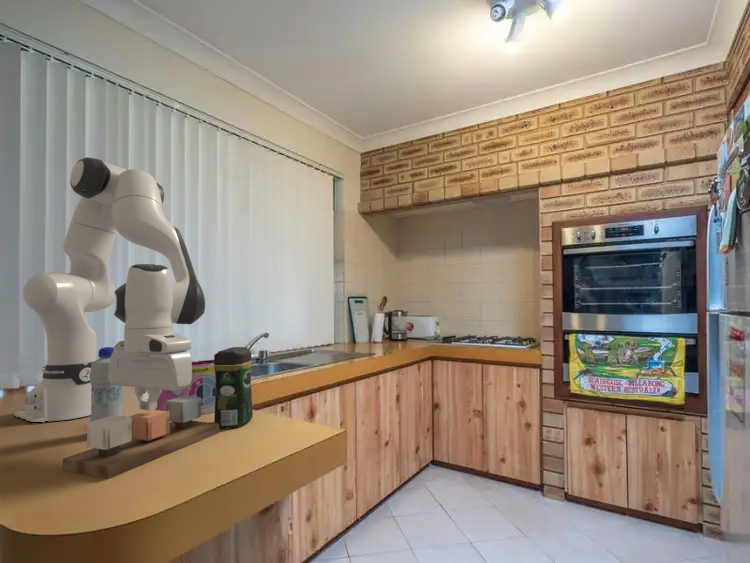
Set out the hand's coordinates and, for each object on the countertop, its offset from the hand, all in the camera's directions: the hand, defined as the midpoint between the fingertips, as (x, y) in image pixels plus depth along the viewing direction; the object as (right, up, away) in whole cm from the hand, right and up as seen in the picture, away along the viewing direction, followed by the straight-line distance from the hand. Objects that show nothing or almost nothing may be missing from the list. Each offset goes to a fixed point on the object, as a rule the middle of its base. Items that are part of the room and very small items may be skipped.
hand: (148, 409), depth 84 cm
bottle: (-16, -9, +11) cm, 21 cm away
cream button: (-3, -4, -8) cm, 9 cm away
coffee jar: (+12, -9, +17) cm, 22 cm away
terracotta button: (0, -5, 0) cm, 5 cm away
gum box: (-1, -10, +29) cm, 31 cm away
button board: (+1, -8, 0) cm, 8 cm away
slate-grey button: (+4, -5, +8) cm, 10 cm away
